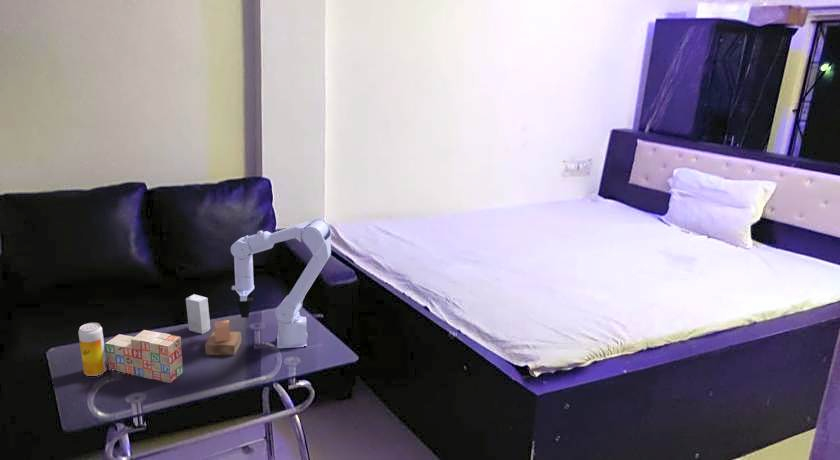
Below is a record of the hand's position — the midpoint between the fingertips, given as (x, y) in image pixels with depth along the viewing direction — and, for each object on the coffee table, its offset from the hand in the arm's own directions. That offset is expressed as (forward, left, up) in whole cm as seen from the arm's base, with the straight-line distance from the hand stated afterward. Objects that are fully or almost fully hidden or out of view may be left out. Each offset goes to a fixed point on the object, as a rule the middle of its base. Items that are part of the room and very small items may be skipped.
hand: (245, 312), depth 202 cm
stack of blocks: (+28, +18, -10) cm, 35 cm away
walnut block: (+7, +6, -10) cm, 14 cm away
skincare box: (+16, -7, -10) cm, 20 cm away
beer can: (+42, +17, -10) cm, 46 cm away
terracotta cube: (+7, +6, -6) cm, 11 cm away
